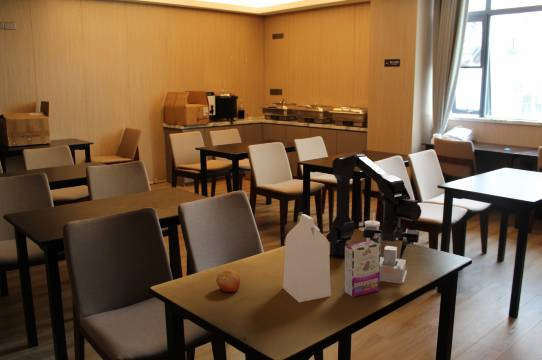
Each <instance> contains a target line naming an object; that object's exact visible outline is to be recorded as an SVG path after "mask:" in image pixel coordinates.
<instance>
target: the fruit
mask: <svg viewBox="0 0 542 360" xmlns="http://www.w3.org/2000/svg"><path fill="white" fill-rule="evenodd" d="M215 282H216V284H217V286H218V288H219V289H220V290H221V292H226V293H235V292H237V291H239V288H240V285H241V276H240V274H239V273H238V270H236V269H234V268H227V269H226V268H225V269H223V270H222V271H220V272H219V273H218V275H217V276H216V278H215Z"/></svg>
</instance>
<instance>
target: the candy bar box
mask: <svg viewBox="0 0 542 360" xmlns="http://www.w3.org/2000/svg"><path fill="white" fill-rule="evenodd" d="M380 257H381V256H380V244H379V243H376V242H374V241H367V240H365V241H361V242H358V243H352V244H348V245H347V246H345V259H344V293H345V294H347V295H348V296H350V297H352V298H356V297H359V296H364V295H367V294H372V293H374V292H375V293H376V292H379V291H380V281H379V279H380Z"/></svg>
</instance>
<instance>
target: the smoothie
mask: <svg viewBox="0 0 542 360" xmlns="http://www.w3.org/2000/svg"><path fill="white" fill-rule="evenodd" d="M372 213H373V214H372V220H366V221H364V226H365V228H366V227H367V226H373V227H377V230H380V226H381V225H380V224H381V222H380V221H378V220H375V214H376V213H375V212H372ZM365 228H364V229H365ZM365 239H366V241H372V240H370V238H365Z"/></svg>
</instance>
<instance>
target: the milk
mask: <svg viewBox="0 0 542 360" xmlns="http://www.w3.org/2000/svg"><path fill="white" fill-rule="evenodd" d="M284 246H285V247H284V263H283V264H284V266H283V267H284V268H283V282H282V283H283V286H282V289H283V290H284V291H286V292H287V293H288V294H289V295H290V296H291V297H292V298H293V299H295V300H296V301H297V302H298V303H303V302H306V301H307V302H308V301H311V300H312V301H313V300H317V299H322V298H328V297H331V296H332V293H331V269H330V265H331V264H330V257H329V255H330V242H328V240H327V238H326V235H323V234H322V232H321V229H320V228H319V227H318V226H317V225H315V221H314V218H313V217H312V216H309V215H307V214H305V213H303V214H302V213H301V214H300V217H299V222H297V224H295V225H294V226H293V227H292V228H291V229H290V231H289V232H288V233H287V235H286V236H285V245H284Z"/></svg>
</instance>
